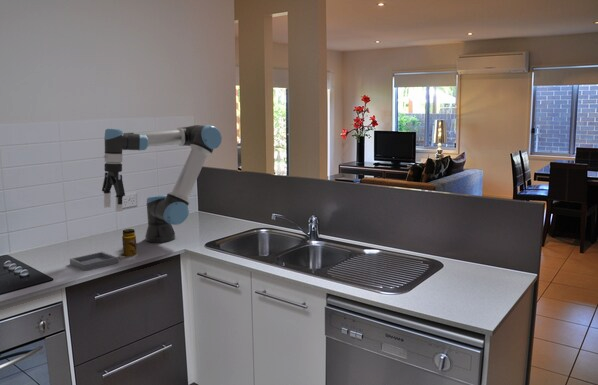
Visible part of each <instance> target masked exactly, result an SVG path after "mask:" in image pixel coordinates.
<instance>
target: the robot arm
mask: <svg viewBox="0 0 598 385" xmlns="http://www.w3.org/2000/svg"><path fill="white" fill-rule="evenodd" d="M103 138H104V155H103V158H104V162H105V163H104V179H103V183H102V189H101V192H102V193H103V207H104V208H111V189H112V187H113V188H114V192H115V212H117V213H119V212H123V197H125V196H126V193H125V187H124V184H123V183H124V181H123V175H122V174H119V173H121V172H122V171H123V164H122V162H123V151H145V150H147V148H148V147H150V148H151V147H160V146H161V147H162V146H173V145H178V146H179V147H190V151H189V154H188V157H187V158H186V160H185V162H184V165H183V167H182V169H181V172H180V173H179V176H178V178H177V180H176V182H175V184H174V186H173V188H172V190H171V192H168V193H167V194H161V195H152V196H149V197H147V198H146V213H147V228H146V232H145V235H144V237H145V241H146V242H149V243H166V242H171V241H174V240H175V239H176V232H175V230H174V228H173V225H174V226H175V225H176V226H177V225H181V224H183V223H184V222H185V221H187V218H188V216H189V212H190V211H189V205H190V201H189V196H190V195H191V193H192V191H193V188H194V186H195V183H196V182H197V180H198V178H199V175H200V173H201V170H202V168H203V167H204V164H205V162H206V160H207V158H208V157H209V156H211V155H213V152H214V150H215V149H217V148H219V147H220V145H221V144H222V138H223V136H222V134H221V131H220V130H219V129H218V128H217V127H216V126H214V125H211V124H209V125H206V124H205V125H204V124H203V125H202V124H196V125H190V126H189V125H188V126H183V127H182V126H181V127H177V129H169V130H167V129H165V130H154V131H136V132H134V131H133V132H123V129H121V128H107V129H105V131H104V137H103Z"/></svg>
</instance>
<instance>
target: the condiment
mask: <svg viewBox="0 0 598 385" xmlns="http://www.w3.org/2000/svg"><path fill="white" fill-rule="evenodd" d="M121 240H122V252H119V253H117V255H118V257H119V259H120V258H130V257H131V258H132V257H138V256H139V253H138V249H137V236H136V232H135V229H133V228H125V229H123V230H122V239H121Z"/></svg>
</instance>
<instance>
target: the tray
mask: <svg viewBox="0 0 598 385" xmlns="http://www.w3.org/2000/svg"><path fill="white" fill-rule="evenodd" d="M114 264H118V256H115V255H112V254H109V253H107V252H104V251H99V252H94V253H91V254H90V253H89V254H85V255H82V256H76V257H72V258H71V257H70V258H69V265H71V266H73V267H75V268H77V269H79V270H82V271H83V272H84V271H85V272H86V271H89V270H93V269H98V268H102V267H105V266H110V265H114Z"/></svg>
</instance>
